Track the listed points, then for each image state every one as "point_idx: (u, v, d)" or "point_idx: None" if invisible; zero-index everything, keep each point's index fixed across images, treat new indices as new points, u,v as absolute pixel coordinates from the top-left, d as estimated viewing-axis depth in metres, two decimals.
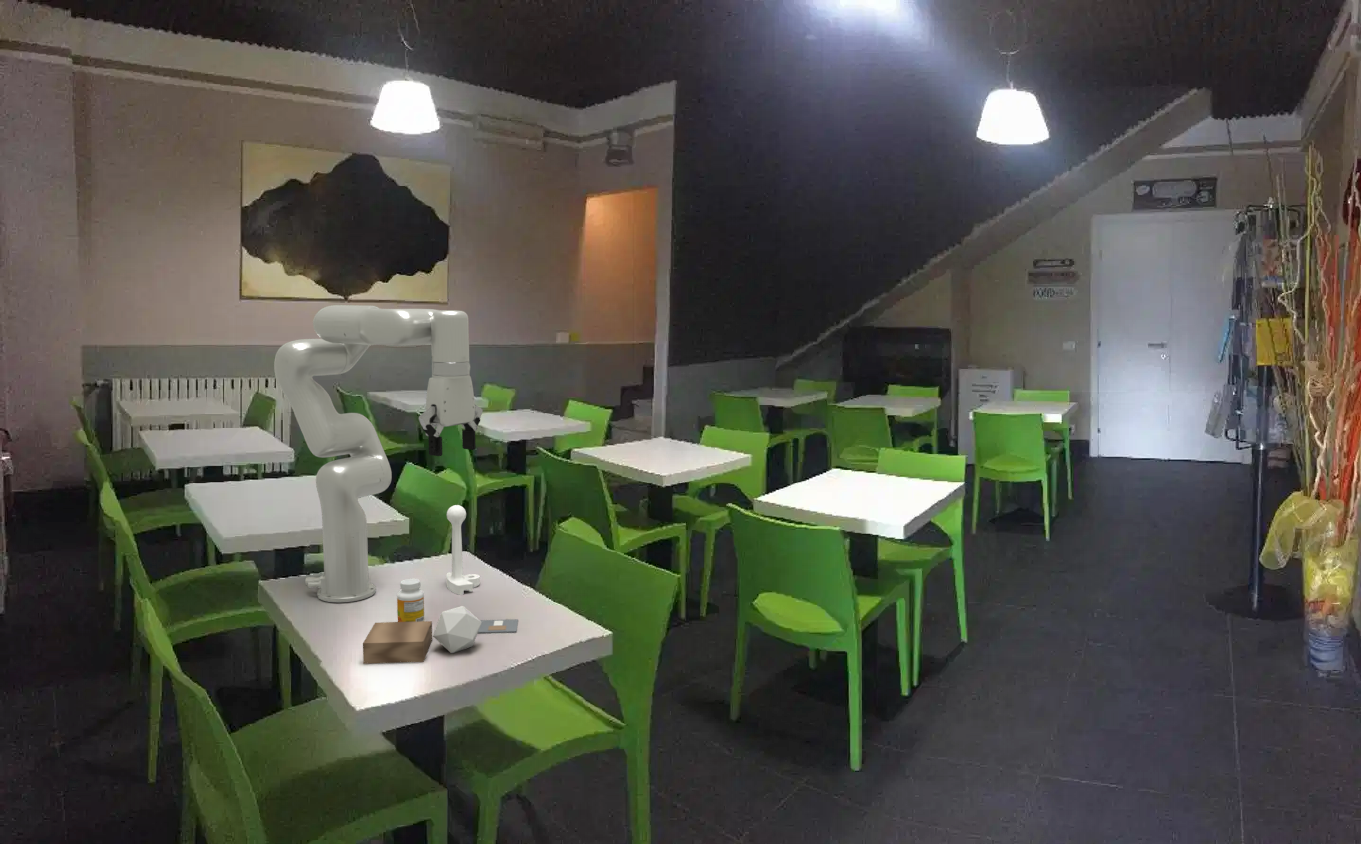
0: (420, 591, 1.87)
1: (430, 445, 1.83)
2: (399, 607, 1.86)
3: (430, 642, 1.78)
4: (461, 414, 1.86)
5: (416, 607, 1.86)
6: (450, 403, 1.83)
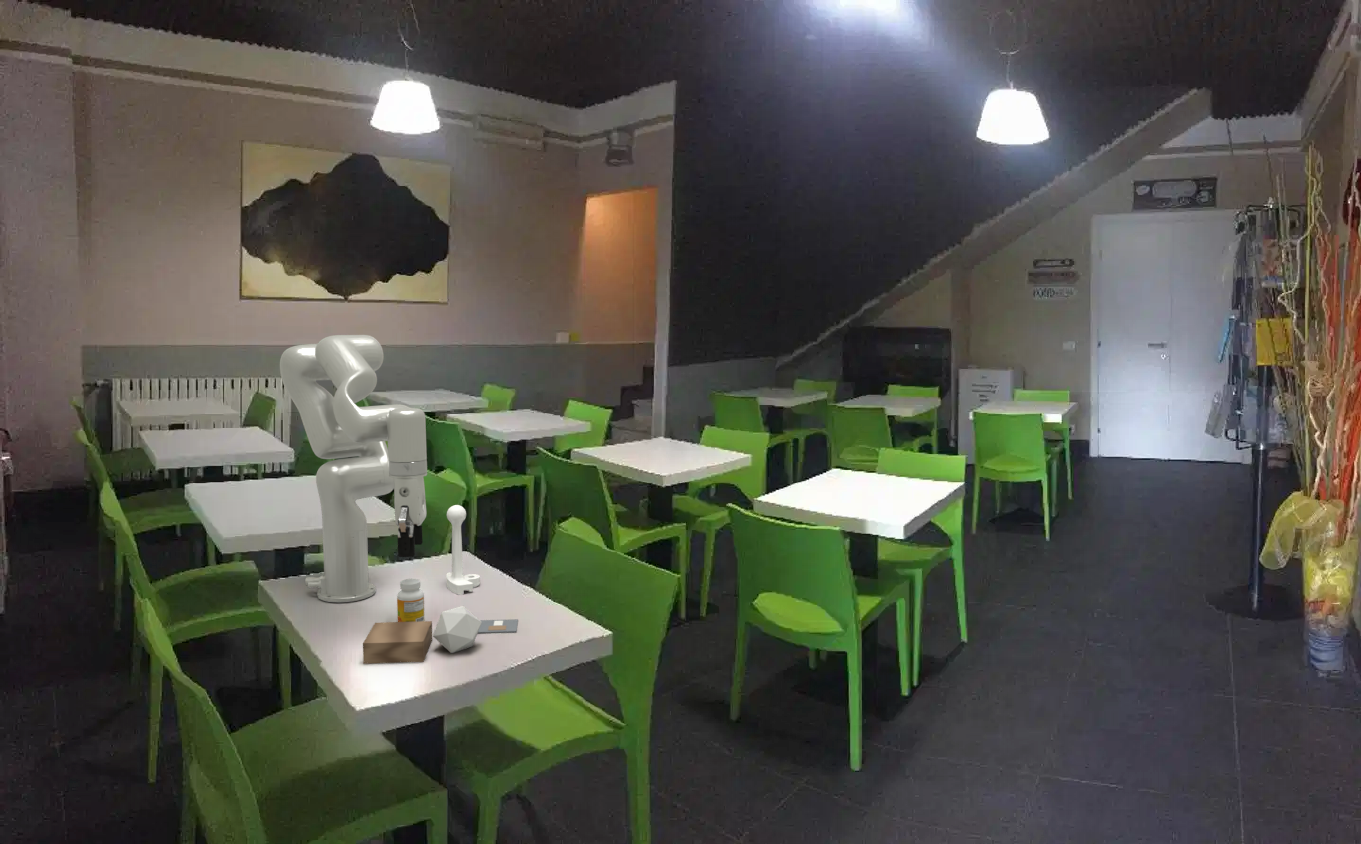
0: (420, 591, 1.87)
1: None
2: (399, 607, 1.86)
3: (430, 642, 1.78)
4: None
5: (416, 608, 1.86)
6: None
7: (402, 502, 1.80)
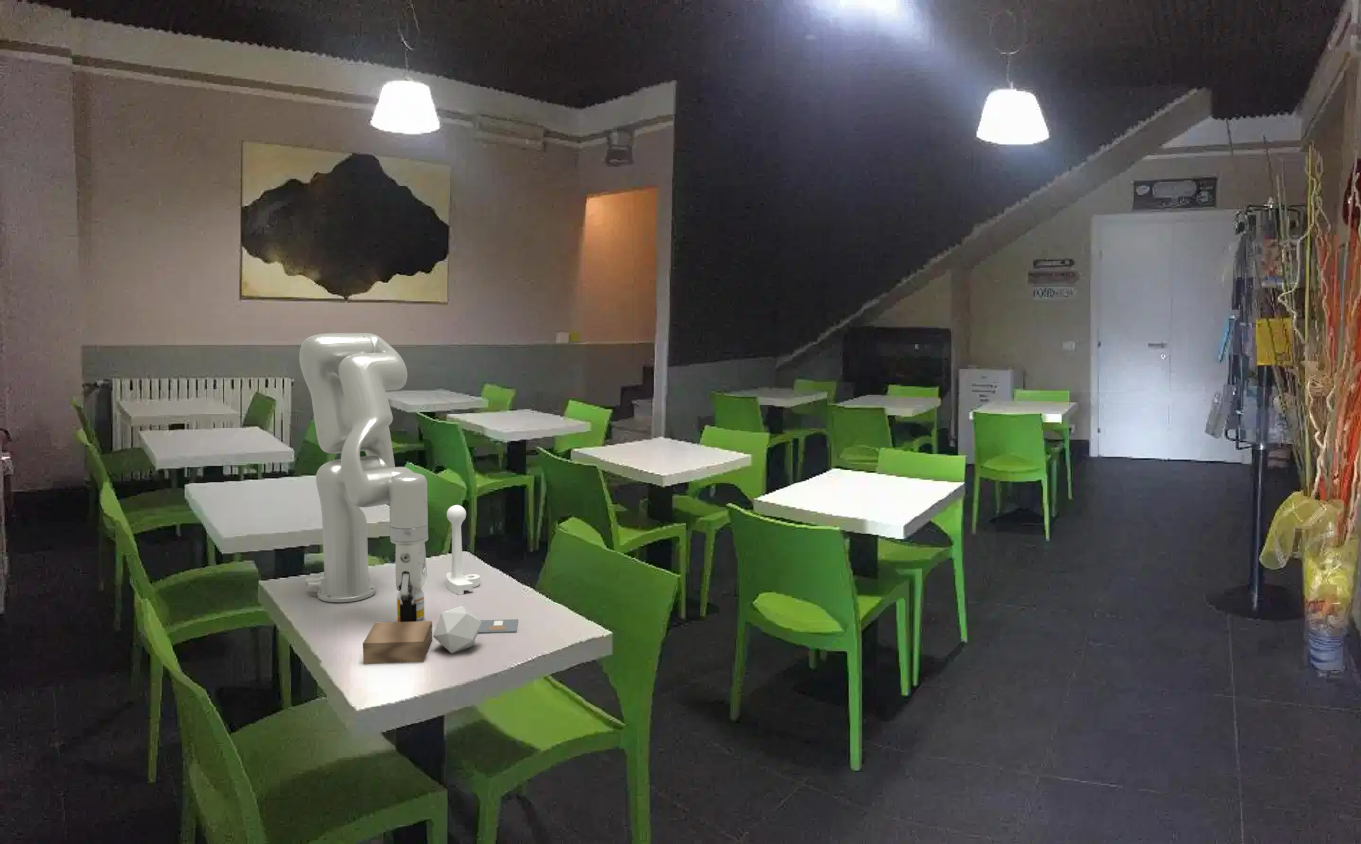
0: (420, 591, 1.87)
1: None
2: (399, 607, 1.86)
3: (430, 642, 1.78)
4: None
5: (416, 607, 1.86)
6: None
7: (403, 568, 1.82)
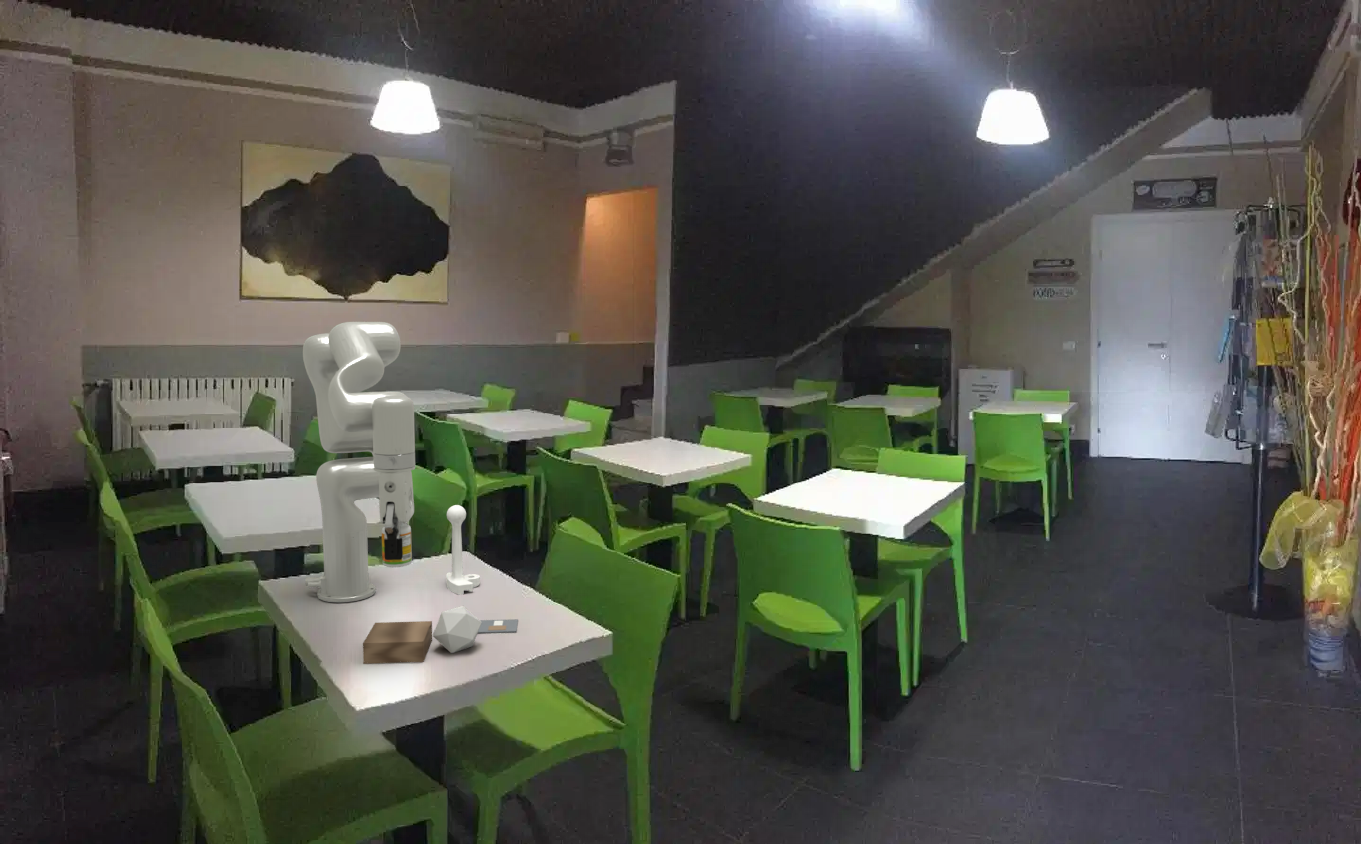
0: (407, 525, 1.72)
1: None
2: (383, 542, 1.70)
3: (430, 642, 1.78)
4: None
5: (402, 543, 1.70)
6: None
7: (387, 498, 1.66)
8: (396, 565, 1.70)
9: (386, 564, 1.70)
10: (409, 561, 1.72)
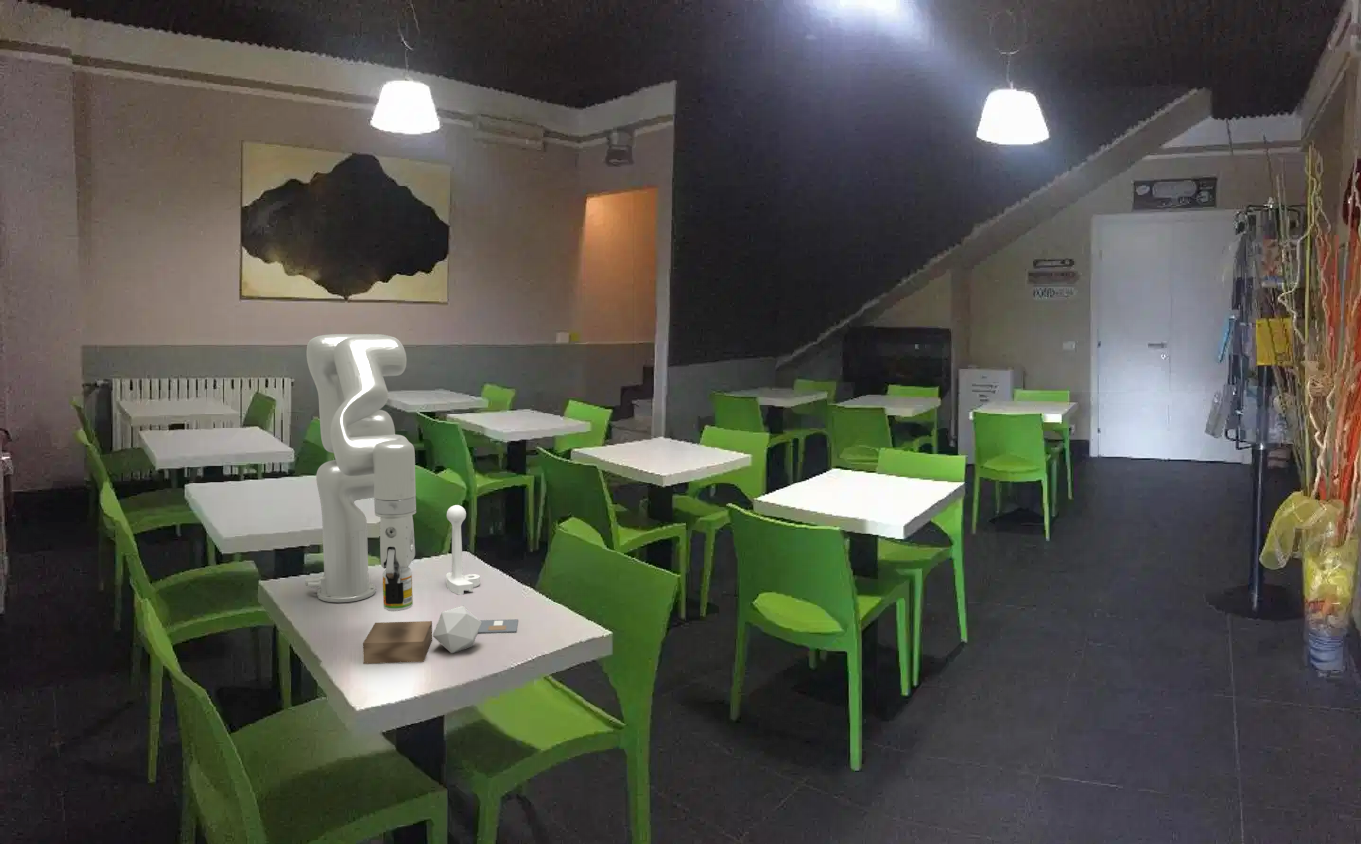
0: (408, 569, 1.72)
1: None
2: (384, 586, 1.71)
3: (430, 642, 1.78)
4: None
5: (403, 587, 1.71)
6: None
7: (388, 543, 1.67)
8: (397, 609, 1.71)
9: (387, 608, 1.71)
10: (410, 604, 1.73)
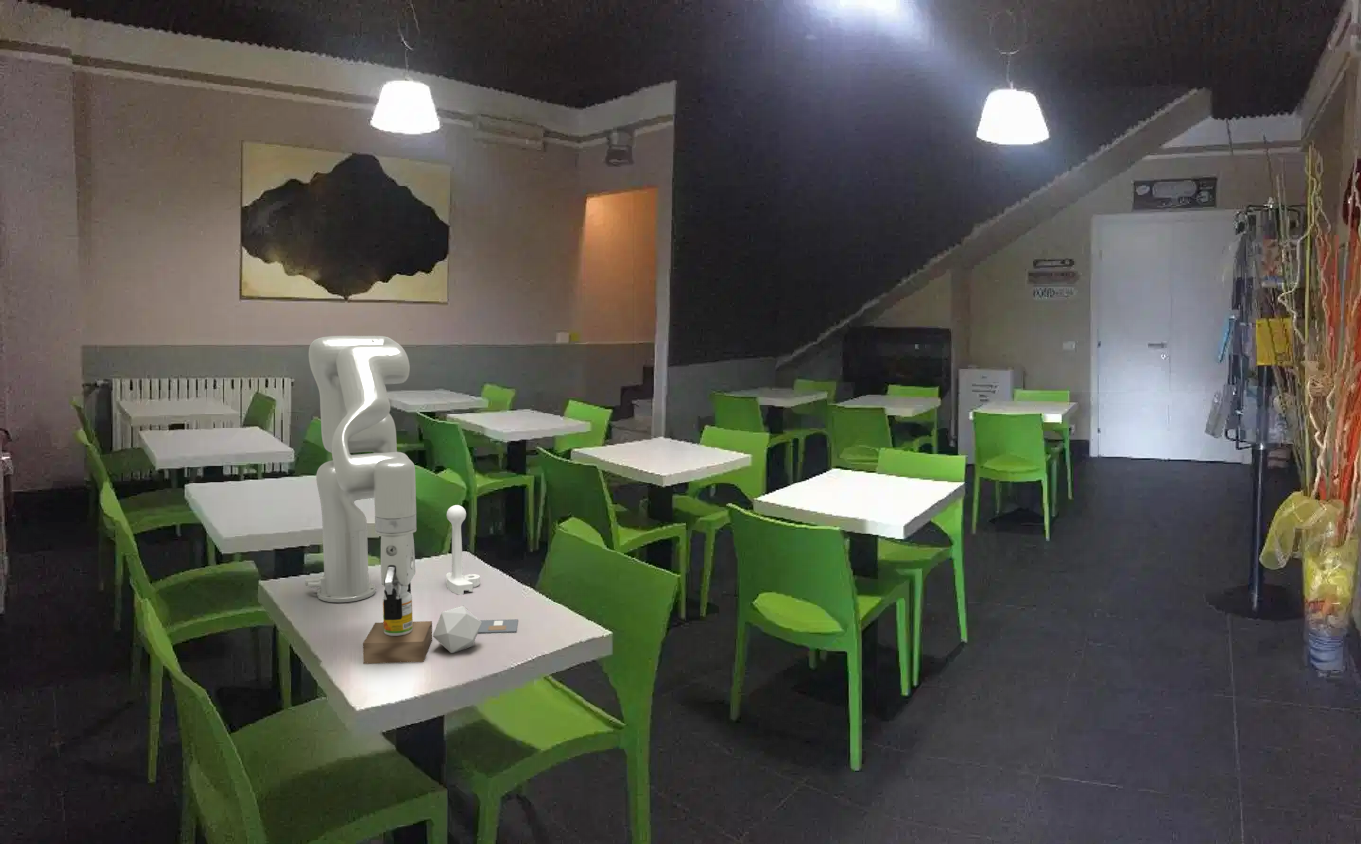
0: (408, 594, 1.73)
1: None
2: None
3: (430, 642, 1.78)
4: None
5: (403, 612, 1.71)
6: None
7: (389, 562, 1.67)
8: (397, 634, 1.71)
9: (387, 633, 1.72)
10: (410, 629, 1.73)
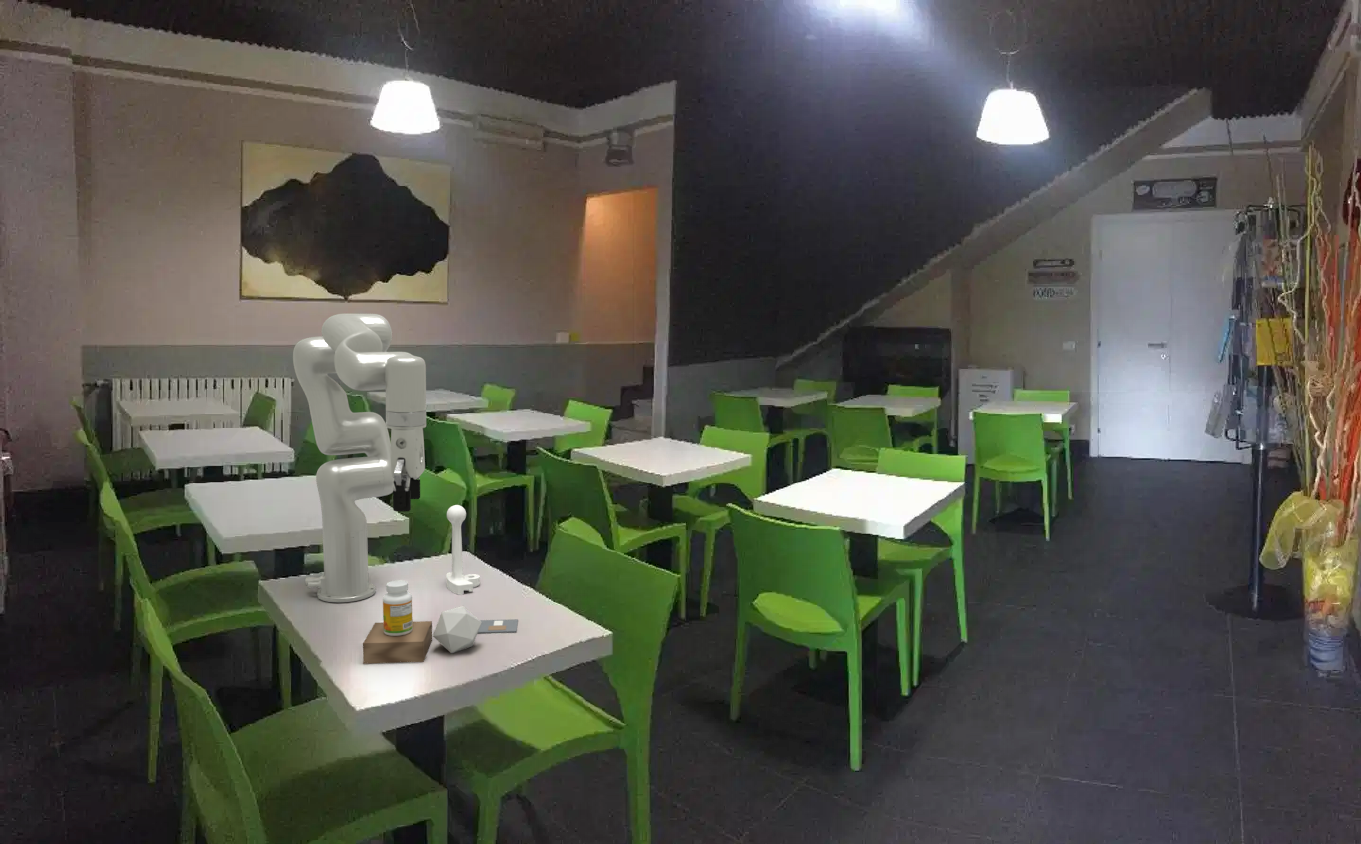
0: (408, 594, 1.73)
1: None
2: (385, 611, 1.71)
3: (430, 642, 1.78)
4: None
5: (403, 612, 1.71)
6: None
7: (399, 454, 1.71)
8: (397, 634, 1.71)
9: (387, 633, 1.72)
10: (410, 629, 1.73)
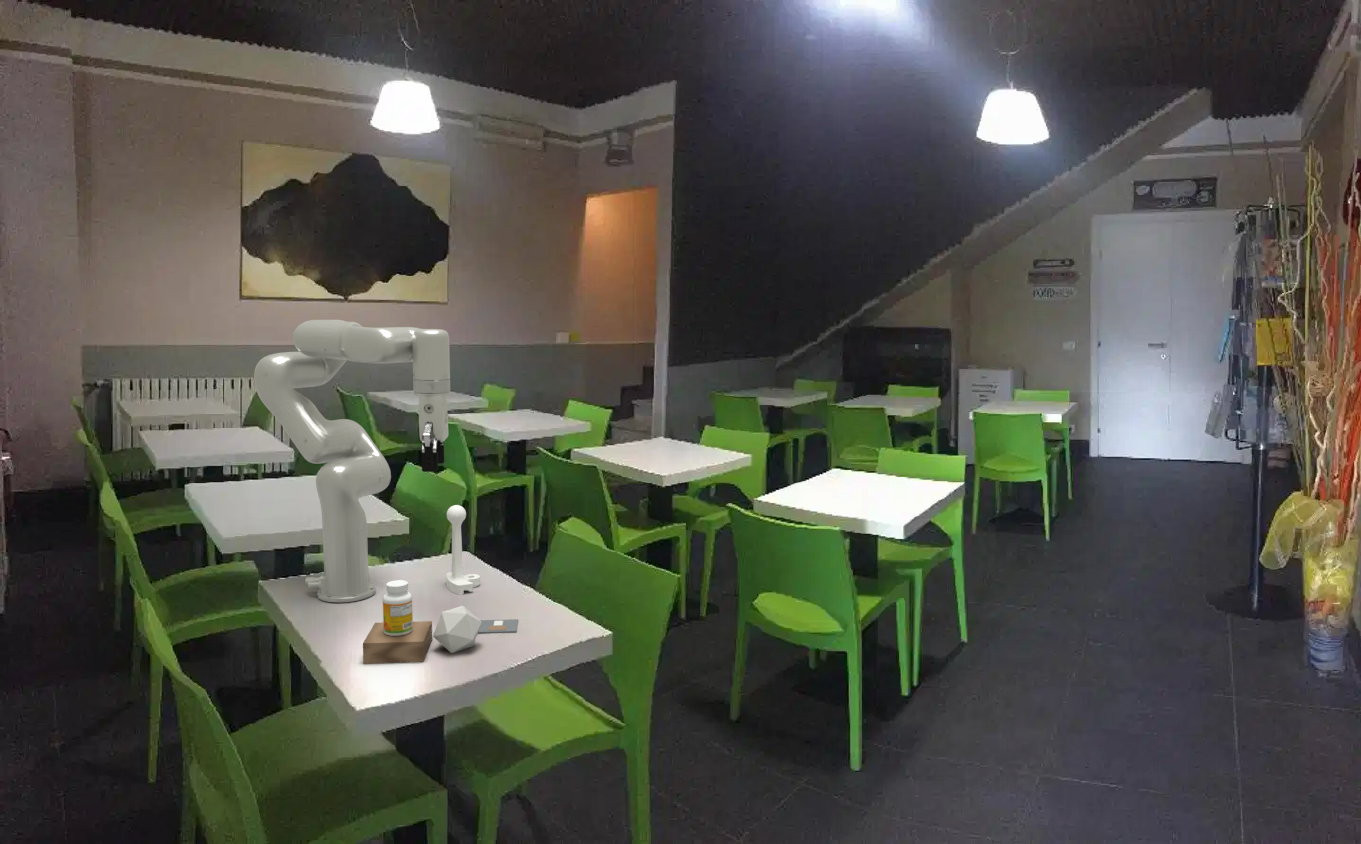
0: (408, 594, 1.73)
1: None
2: (385, 611, 1.71)
3: (430, 642, 1.78)
4: None
5: (403, 612, 1.71)
6: None
7: (426, 419, 1.86)
8: (397, 634, 1.71)
9: (387, 633, 1.72)
10: (410, 629, 1.73)
